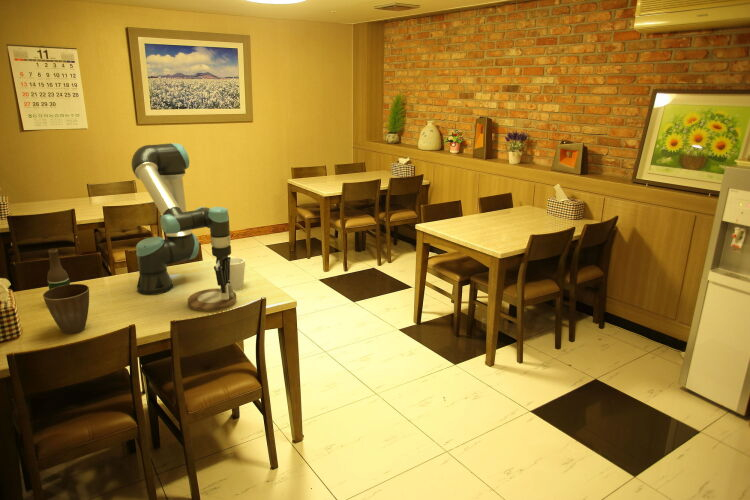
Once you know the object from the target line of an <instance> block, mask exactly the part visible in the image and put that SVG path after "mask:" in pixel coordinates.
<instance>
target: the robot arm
mask: <svg viewBox="0 0 750 500" xmlns="http://www.w3.org/2000/svg"><path fill="white" fill-rule="evenodd" d="M189 167H190V158H189V154H188V151H187V150H186V148H185V147H184V146H183V145H182V144H181V143H171V142H170V143H159V144H146V145H143V146H140V147H139V148H137V150H136V151H135V152H134V154H133V155H132V157H131V170H132V172H133V174H134V176H135V178H136V179H138V180H140V181H141V182H142V185H143V186H144V187H145V189H146V191H147V193H148V194H149V196H150V198H151V200H152V201H153V202H154V204H155V206H156V208H157V209H158V211H159V213H160V215H161V217H160V220H159V221H160V226H161V229H162V231H163V232H164V233H165V238H163V237H161V236H152V237H147V238H144V239H141V240H140V241H139V242H138V243H136V247H135V248H136V252H135V254H136V257H137V265H138V266H137V267H138V271H139V272H138V273H139V274H138V275H139V276H138V280H137V286H136V289H137V293H139V294H141V295H148V296H149V295H150V296H151V295H159V294H164V293H167V292H169V291H170V290H172V289H173V288H174V284H173V283H174V282H173V280H172V278H171V276H170V274H169V272H168V268H167V266H168V265H172V264H176V263H177V264H178V263H180V262H186V261H187V262H188V261H190V260H193V259H195V258H196V257H197V256H198V254H199V251H200V249H199V248H200V245H199V244H200V243H199V240H198V237H197V236H196V234H195V233H193V230H197V229H204V228H208V229H209V231H210V245H211V254H212V256H214V257H215V264H216V265H214V266H213V269H214V273H215V277H216V282H217V286H219V287H220V289H221V299H223V300H228V299H229V291H228V283H229V284H230V282H229V281H228V280H230V260H231V258H232V257H230V255H231V254H232V246H231V240H232V238H231V235H230V234H231V232H230V231H231V230H230V216H229V210H228V208H227V207H224V206H214V207H210V208H209V207H207V206H206V207H204V206H199V207H198V208H196V209H195V210H190V211H187V206H186V197H185V189H184V180H183V179H184V178H183V177H184V176H185V174H186V170H188V168H189Z"/></svg>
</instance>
